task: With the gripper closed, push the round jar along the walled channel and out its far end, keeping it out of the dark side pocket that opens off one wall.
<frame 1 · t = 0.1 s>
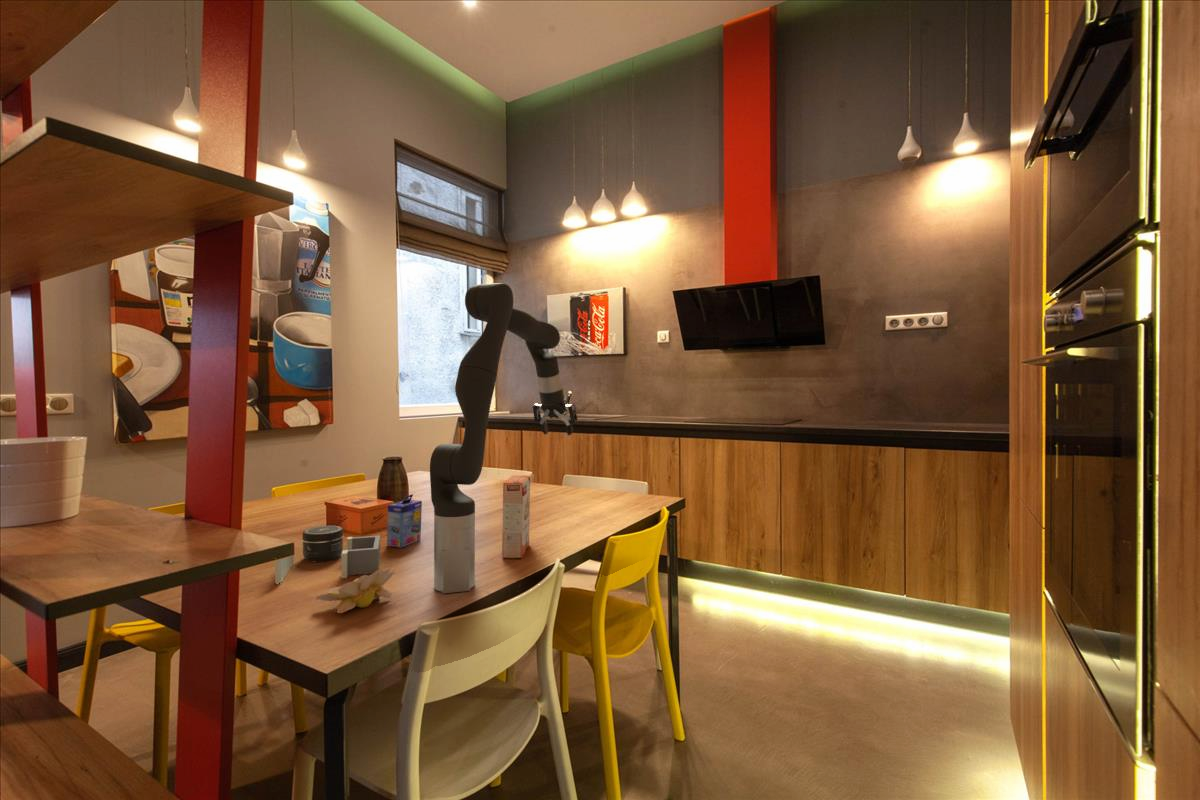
hand: (558, 433, 184), 31 cm above the table, tool tilted 20°, fingers open, 8 cm apart
ink cartridge box: (404, 543, 168), on the table
cracker box: (516, 552, 160), on the table
channel: (316, 570, 142), on the table
decorative flower: (360, 605, 121), on the table
jar: (323, 558, 153), on the table
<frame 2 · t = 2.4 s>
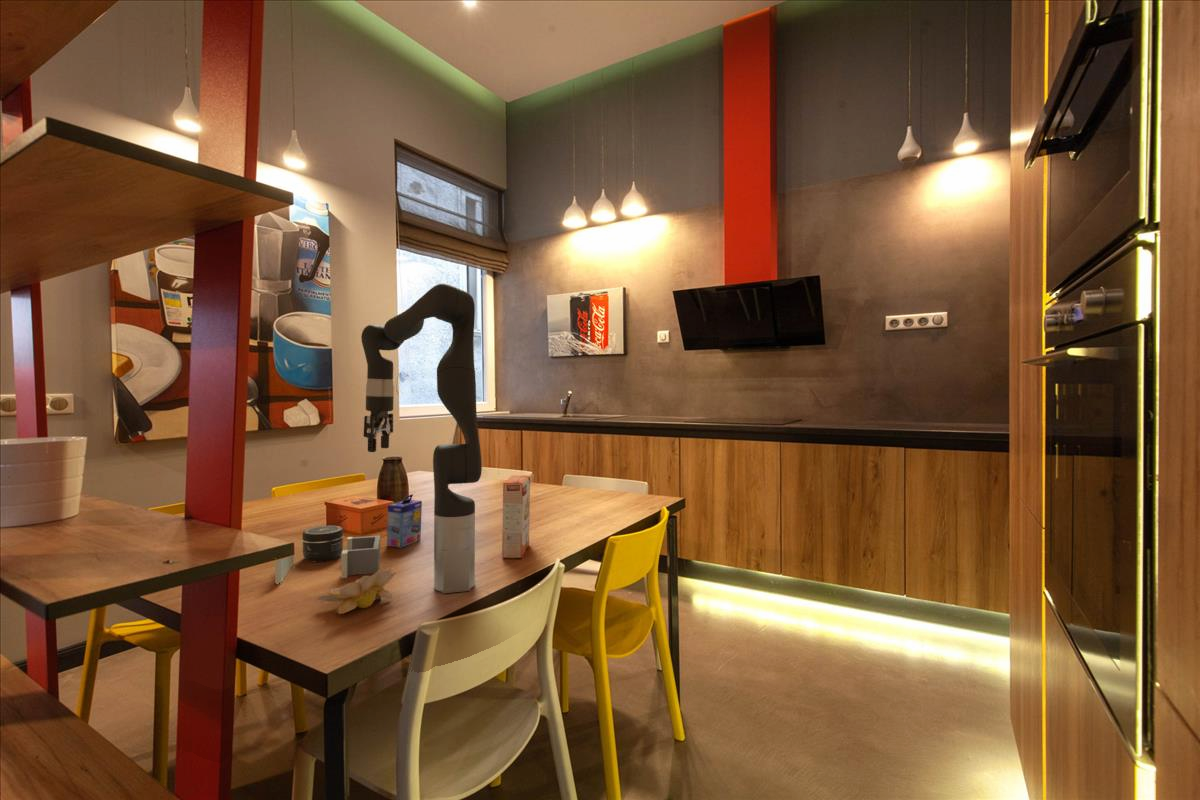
hand: (378, 449, 165), 28 cm above the table, tool pointing down, fingers open, 8 cm apart
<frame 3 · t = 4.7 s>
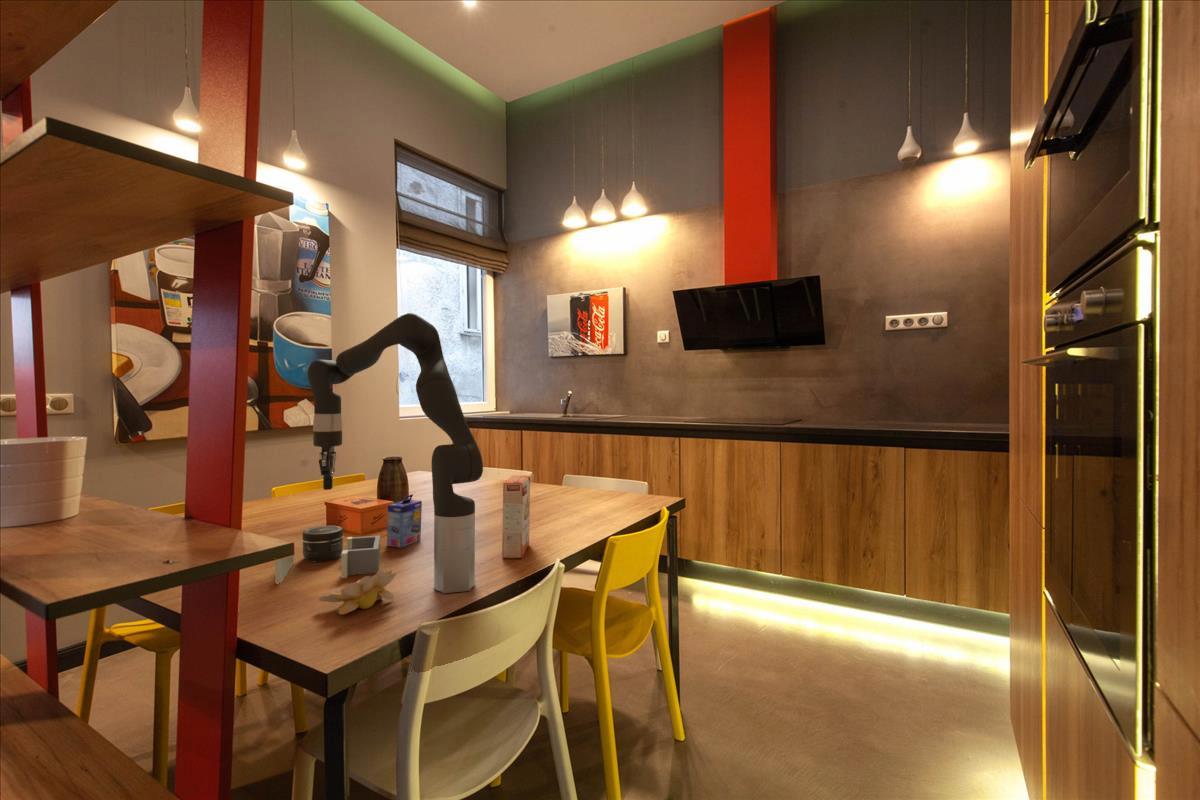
hand: (328, 489, 163), 17 cm above the table, tool pointing down, fingers closed
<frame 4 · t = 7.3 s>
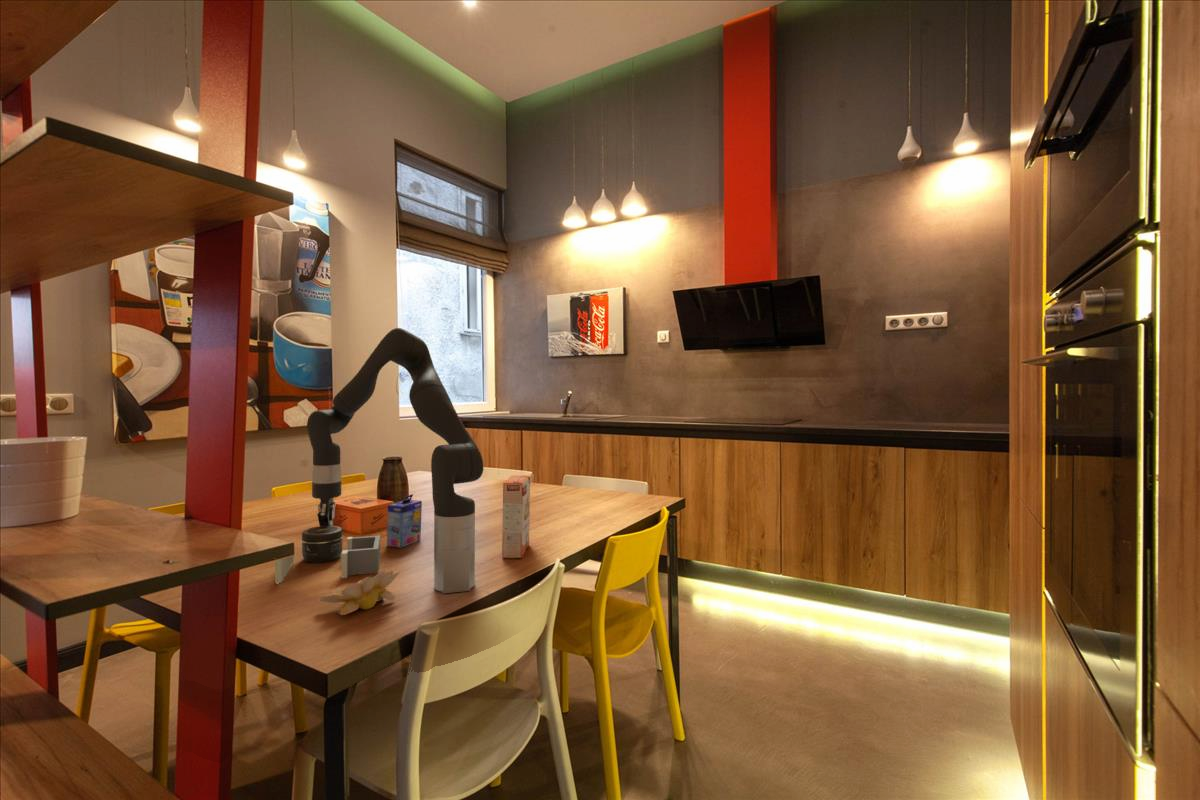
hand: (326, 540, 160), 3 cm above the table, tool pointing down, fingers closed
jar: (322, 558, 153), on the table, touching hand
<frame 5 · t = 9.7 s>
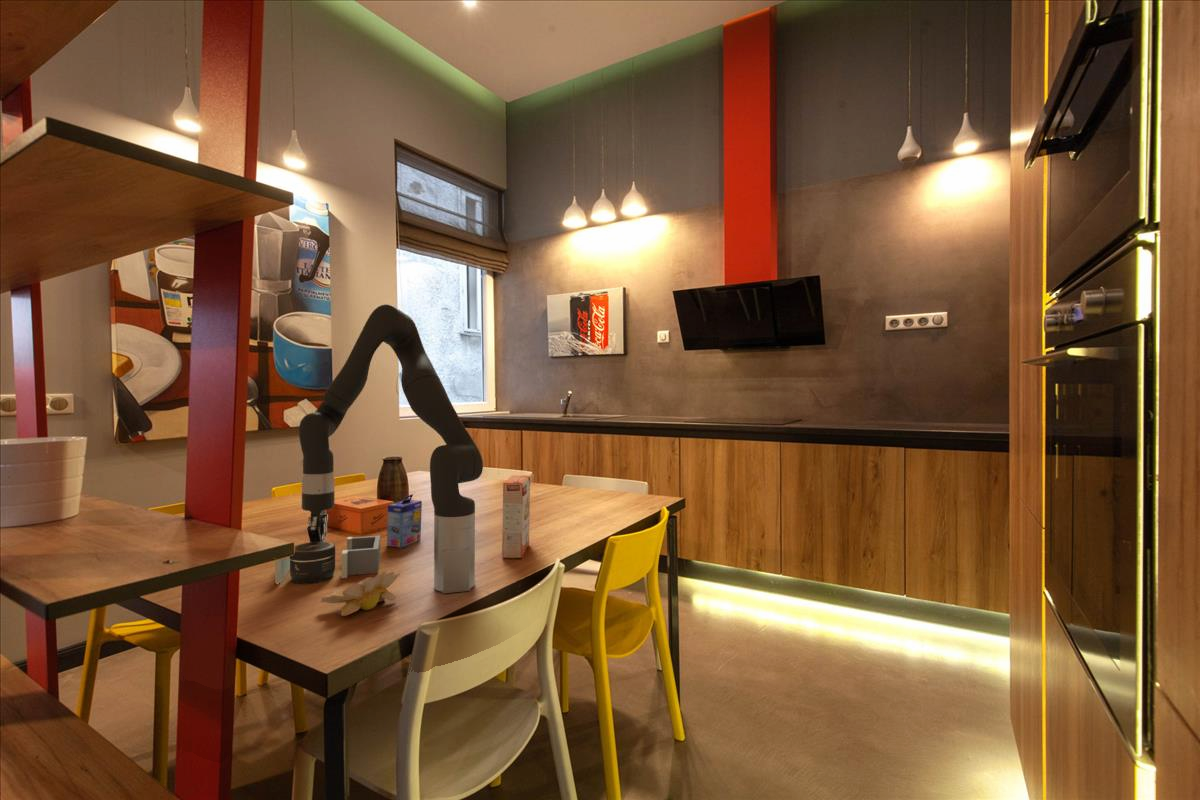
hand: (318, 557, 145), 3 cm above the table, tool pointing down, fingers closed
jar: (313, 578, 137), on the table, touching hand
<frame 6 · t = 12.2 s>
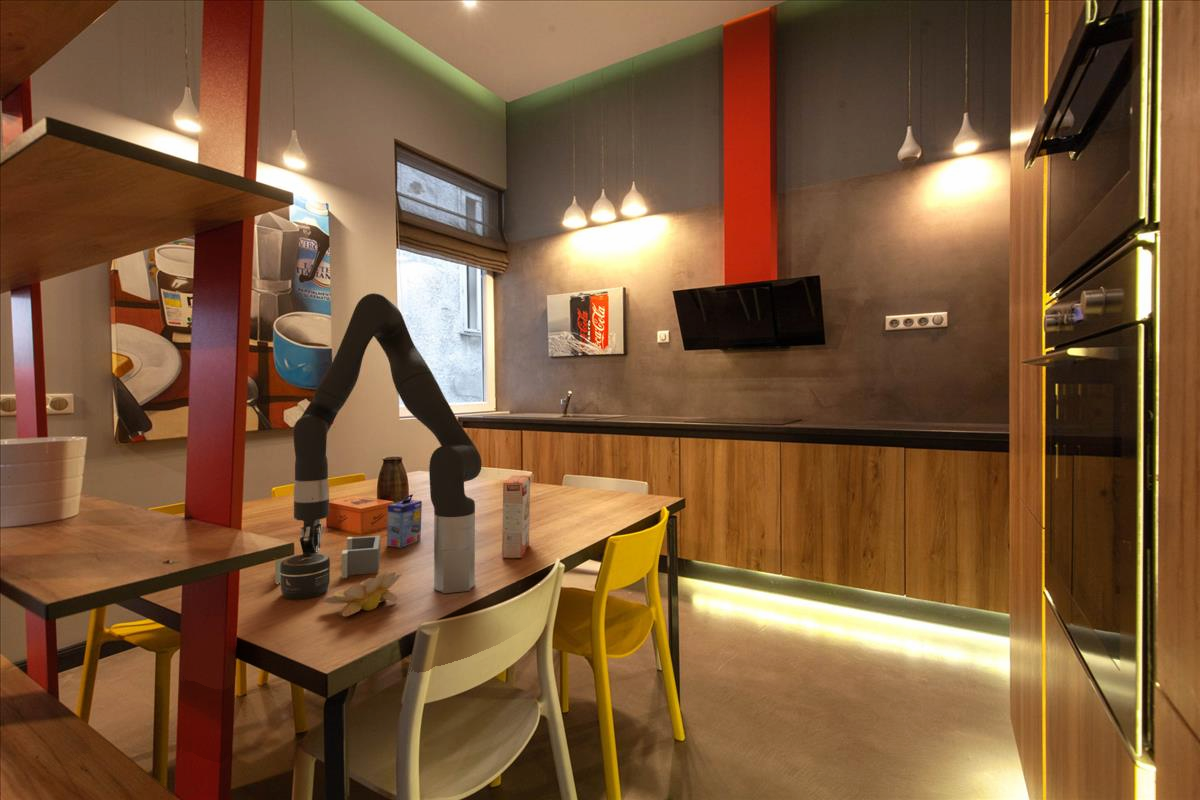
hand: (311, 569, 135), 3 cm above the table, tool pointing down, fingers closed
jar: (305, 593, 127), on the table, touching hand
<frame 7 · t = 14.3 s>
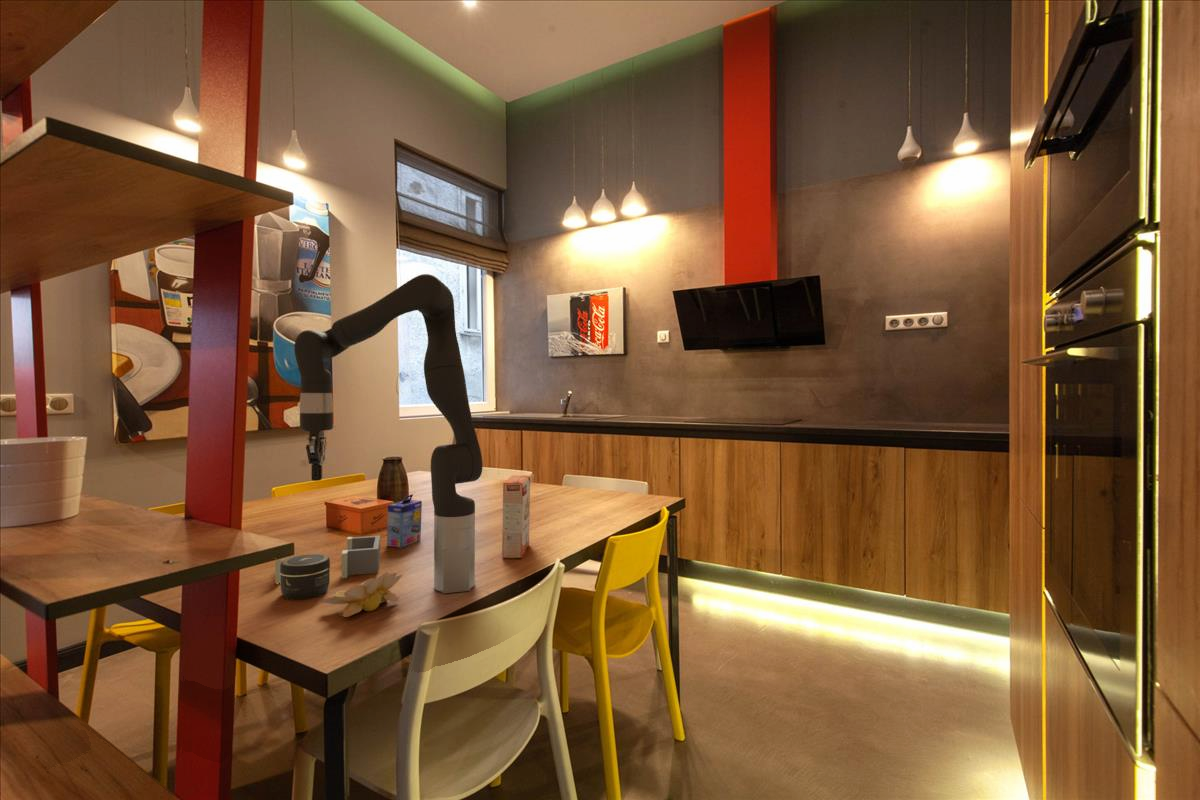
hand: (317, 480, 142), 23 cm above the table, tool pointing down, fingers closed
jar: (305, 593, 127), on the table
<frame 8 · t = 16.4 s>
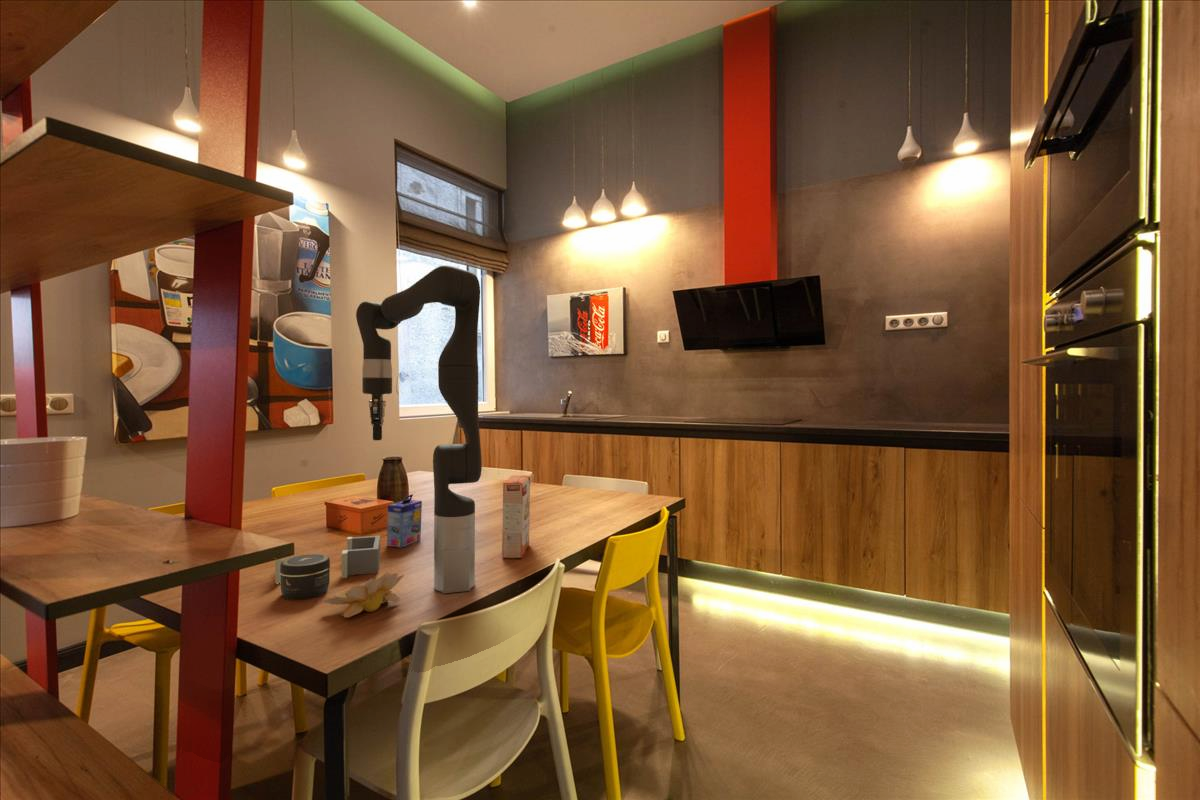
hand: (377, 440, 154), 32 cm above the table, tool pointing down, fingers closed
at the end: jar inside the target area (0.7 cm from its centre), on the table; jar tilted 0°; jar touching table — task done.
